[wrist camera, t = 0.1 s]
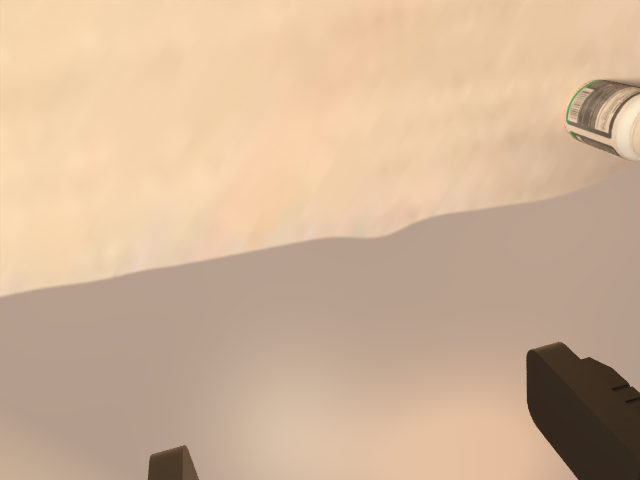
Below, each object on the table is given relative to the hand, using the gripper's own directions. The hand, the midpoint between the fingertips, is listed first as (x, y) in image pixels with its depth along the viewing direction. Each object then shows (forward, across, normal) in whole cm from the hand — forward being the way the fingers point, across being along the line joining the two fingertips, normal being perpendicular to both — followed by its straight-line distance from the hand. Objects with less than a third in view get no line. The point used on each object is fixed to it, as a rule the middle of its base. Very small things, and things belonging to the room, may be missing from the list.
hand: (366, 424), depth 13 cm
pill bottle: (+30, -26, +4) cm, 39 cm away
